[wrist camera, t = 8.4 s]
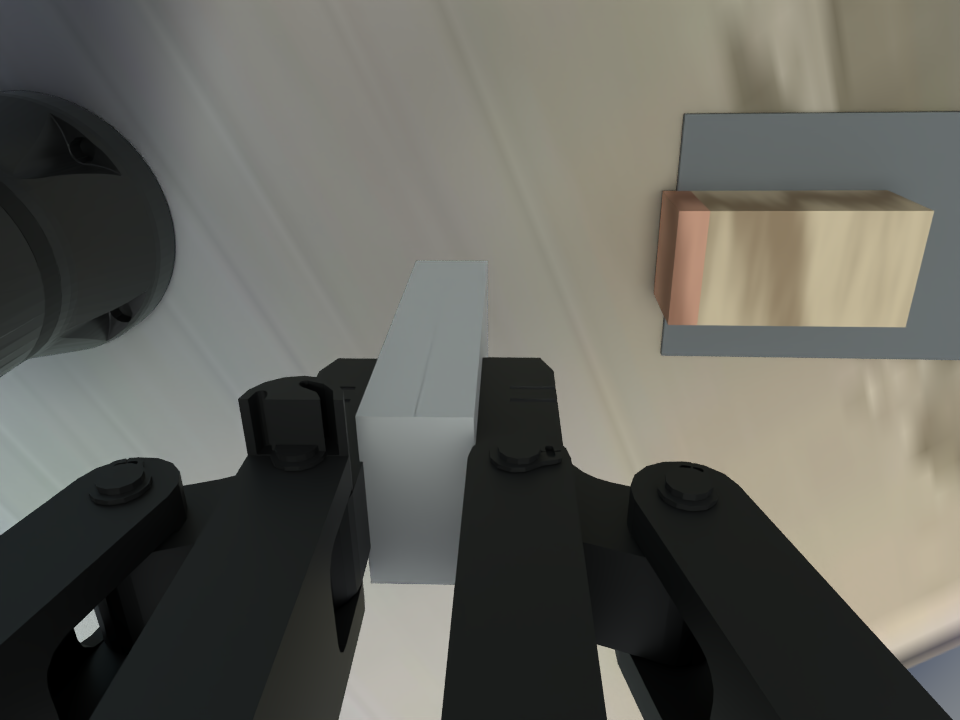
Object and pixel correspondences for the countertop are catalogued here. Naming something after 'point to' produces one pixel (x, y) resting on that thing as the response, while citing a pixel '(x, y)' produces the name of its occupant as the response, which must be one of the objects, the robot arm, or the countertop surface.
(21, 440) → the countertop surface
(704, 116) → the mat
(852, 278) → the oak block
